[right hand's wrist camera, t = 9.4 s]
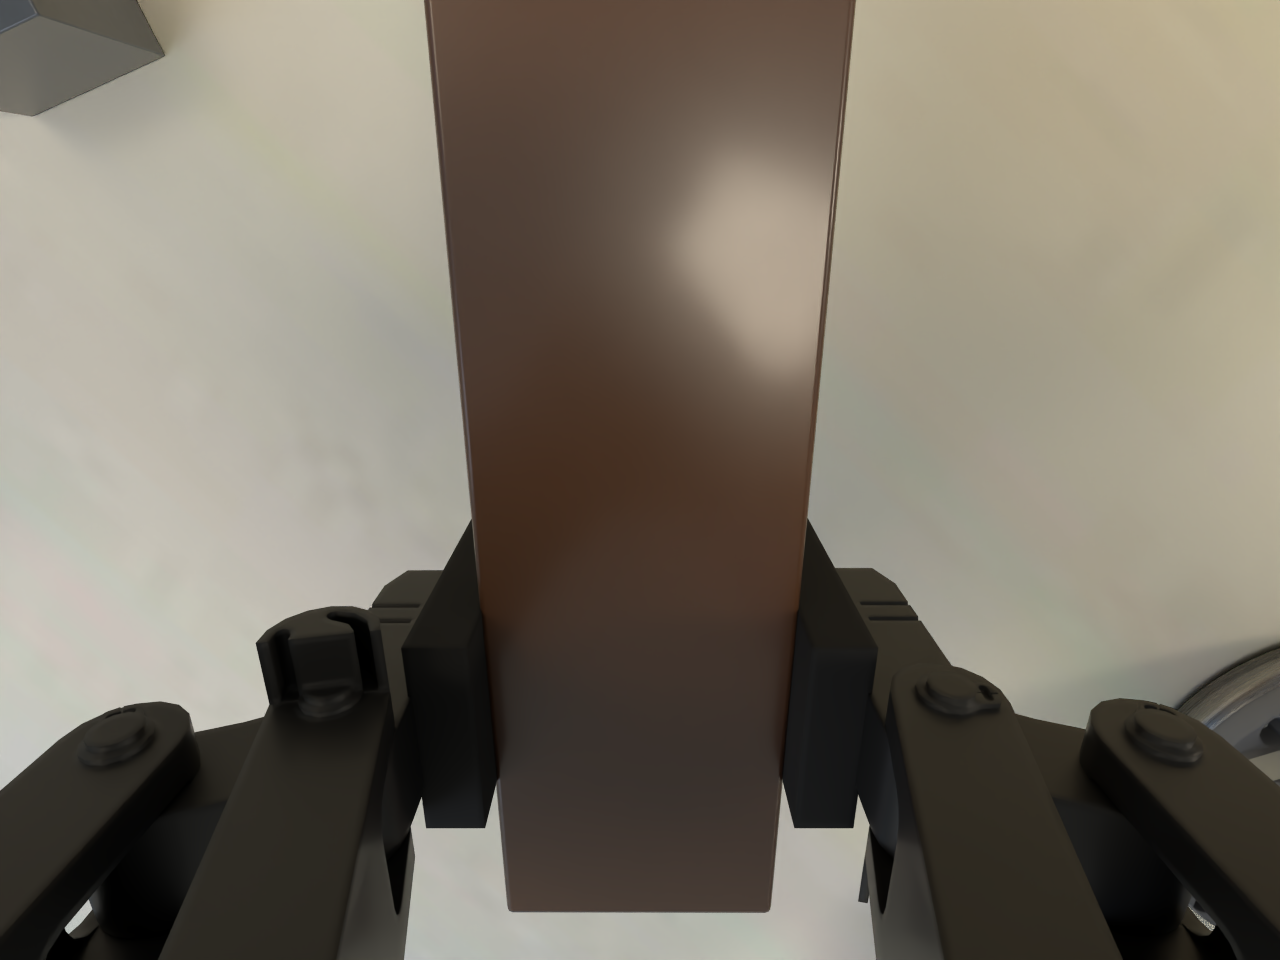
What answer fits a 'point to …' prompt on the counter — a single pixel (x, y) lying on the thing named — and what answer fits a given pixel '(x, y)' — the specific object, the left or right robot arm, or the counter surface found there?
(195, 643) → the counter surface
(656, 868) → the walnut bar
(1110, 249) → the counter surface
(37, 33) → the slate cube
